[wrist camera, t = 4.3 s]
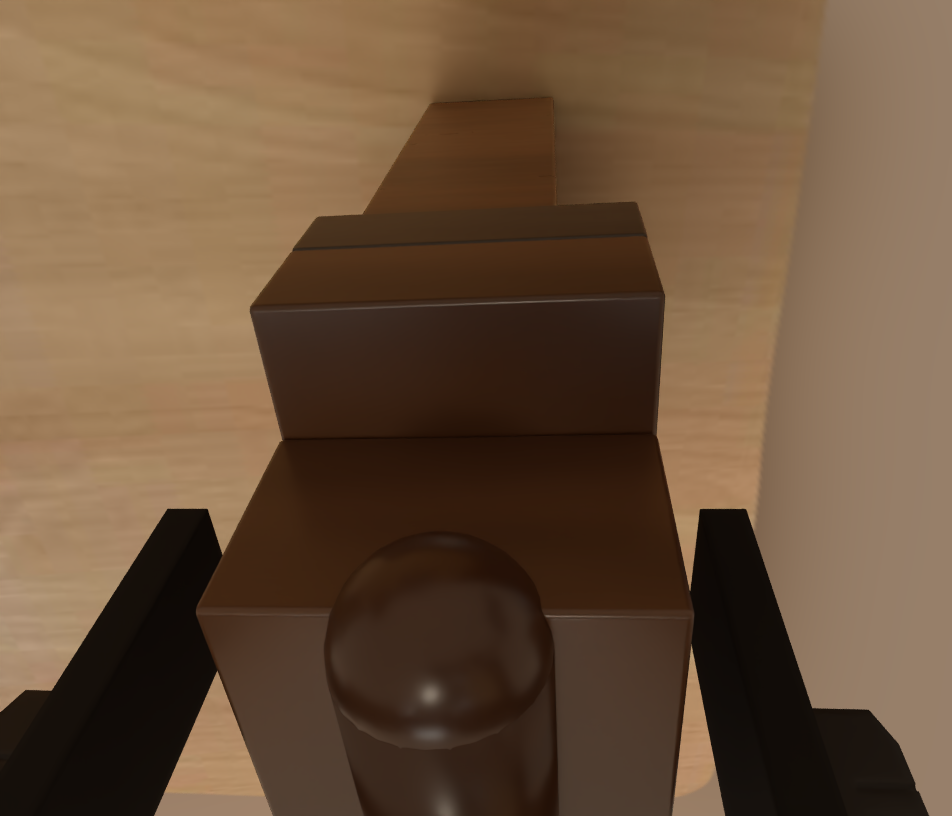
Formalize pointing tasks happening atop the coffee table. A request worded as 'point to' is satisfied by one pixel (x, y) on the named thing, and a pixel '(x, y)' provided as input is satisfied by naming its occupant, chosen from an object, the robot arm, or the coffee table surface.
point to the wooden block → (474, 159)
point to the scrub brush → (460, 524)
